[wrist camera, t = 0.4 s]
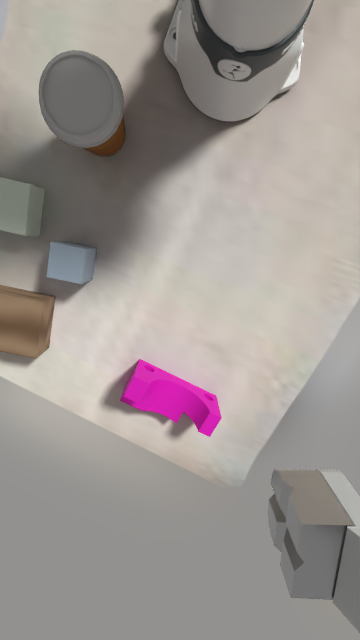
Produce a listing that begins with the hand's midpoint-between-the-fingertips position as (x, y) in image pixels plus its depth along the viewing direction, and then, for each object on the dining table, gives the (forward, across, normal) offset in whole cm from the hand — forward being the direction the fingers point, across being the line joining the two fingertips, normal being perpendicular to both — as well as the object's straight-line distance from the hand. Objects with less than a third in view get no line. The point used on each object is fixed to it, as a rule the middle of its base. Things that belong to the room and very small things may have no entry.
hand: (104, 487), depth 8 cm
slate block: (+45, +14, -2) cm, 47 cm away
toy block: (+45, -1, +20) cm, 50 cm away
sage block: (+45, +23, -10) cm, 52 cm away
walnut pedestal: (+45, +25, +7) cm, 52 cm away
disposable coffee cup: (+45, +10, -21) cm, 51 cm away
